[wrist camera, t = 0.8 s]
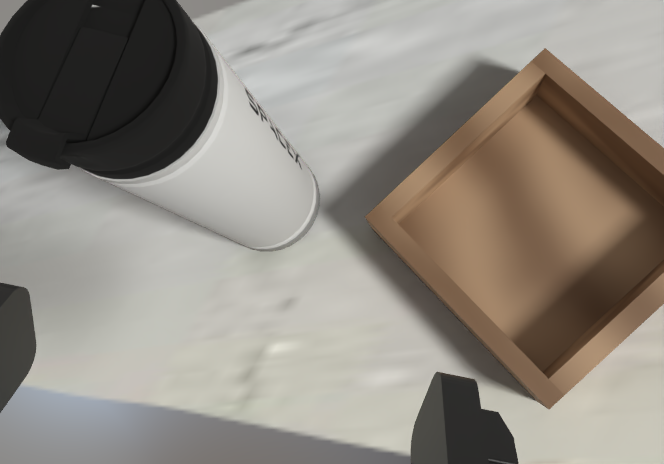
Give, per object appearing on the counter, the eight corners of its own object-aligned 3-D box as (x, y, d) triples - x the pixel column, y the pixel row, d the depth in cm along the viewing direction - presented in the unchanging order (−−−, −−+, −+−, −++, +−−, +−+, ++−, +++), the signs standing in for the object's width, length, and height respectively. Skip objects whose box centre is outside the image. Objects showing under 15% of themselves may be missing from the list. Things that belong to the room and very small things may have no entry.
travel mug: (205, 239, 36) (-62, 129, 17) (241, 141, 37) (24, -73, 18) (298, 270, 35) (122, 189, 16) (334, 167, 36) (208, -34, 16)
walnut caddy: (534, 76, 34) (545, 48, 31) (717, 234, 31) (751, 222, 28) (372, 228, 35) (364, 217, 31) (537, 401, 31) (549, 409, 28)
